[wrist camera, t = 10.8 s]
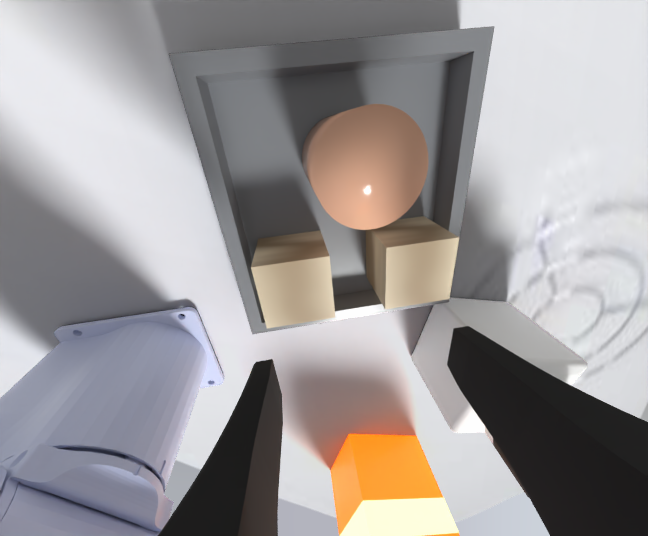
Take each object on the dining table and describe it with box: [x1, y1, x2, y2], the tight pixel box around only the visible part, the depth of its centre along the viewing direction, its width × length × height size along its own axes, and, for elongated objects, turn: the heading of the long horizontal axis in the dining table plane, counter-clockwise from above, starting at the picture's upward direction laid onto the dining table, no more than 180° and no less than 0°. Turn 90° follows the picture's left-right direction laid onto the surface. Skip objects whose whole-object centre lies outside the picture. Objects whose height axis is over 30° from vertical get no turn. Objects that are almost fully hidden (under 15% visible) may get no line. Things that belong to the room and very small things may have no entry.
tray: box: [169, 26, 494, 334], centre depth 16 cm, size 14×15×2 cm
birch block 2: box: [366, 216, 459, 309], centre depth 16 cm, size 4×4×4 cm
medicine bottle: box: [411, 297, 588, 497], centre depth 18 cm, size 7×7×12 cm
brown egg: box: [302, 104, 428, 230], centre depth 12 cm, size 4×4×6 cm
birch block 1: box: [251, 230, 335, 329], centre depth 16 cm, size 4×4×4 cm
